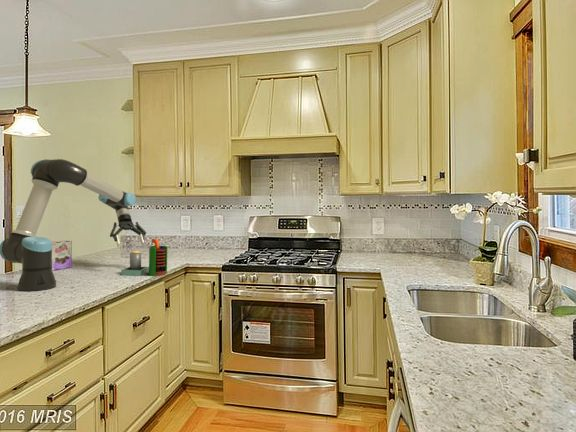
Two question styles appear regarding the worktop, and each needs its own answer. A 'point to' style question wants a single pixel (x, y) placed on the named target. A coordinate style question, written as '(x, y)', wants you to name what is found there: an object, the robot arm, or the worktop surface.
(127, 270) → the teal square tray
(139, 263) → the grey cylindrical canister
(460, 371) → the worktop surface
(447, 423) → the worktop surface
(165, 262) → the motor
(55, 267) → the candy box
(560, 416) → the worktop surface
